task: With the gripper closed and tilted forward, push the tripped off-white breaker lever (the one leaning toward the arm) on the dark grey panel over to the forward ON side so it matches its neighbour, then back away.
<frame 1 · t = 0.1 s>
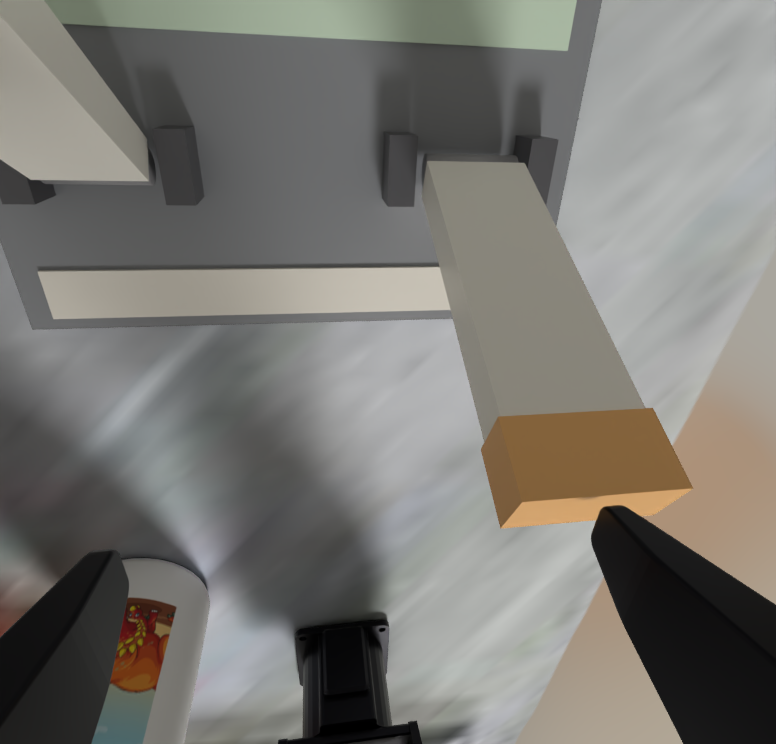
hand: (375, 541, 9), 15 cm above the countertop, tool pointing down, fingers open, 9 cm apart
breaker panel: (294, 161, 19), on the countertop
milk bottle: (147, 593, 30), on the countertop
tripped lever: (512, 289, 15), point 8 cm above the countertop, hinge at -24.0°
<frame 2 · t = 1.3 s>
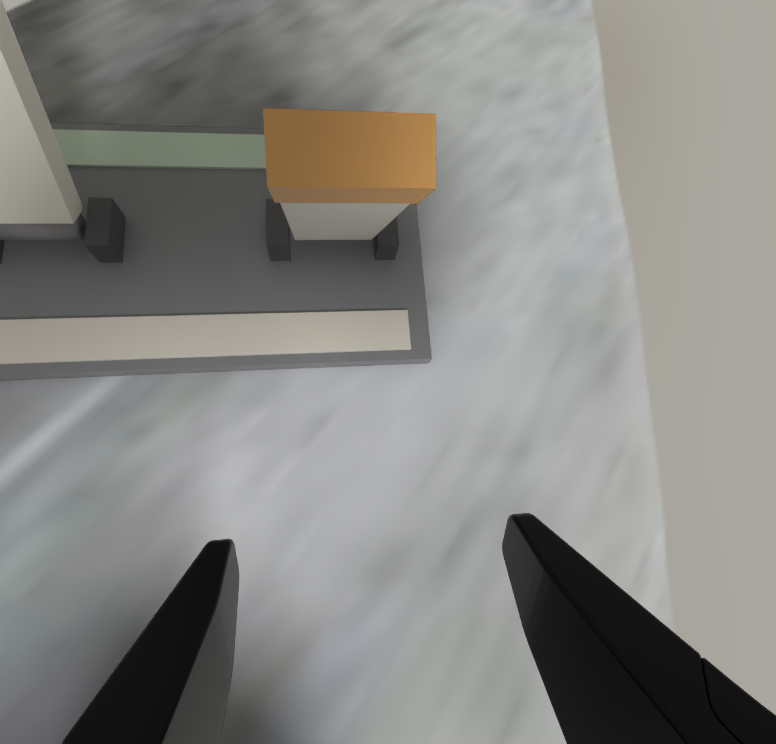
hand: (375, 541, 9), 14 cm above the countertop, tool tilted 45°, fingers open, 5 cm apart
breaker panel: (202, 247, 25), on the countertop
tripped lever: (338, 203, 17), point 8 cm above the countertop, hinge at -24.0°
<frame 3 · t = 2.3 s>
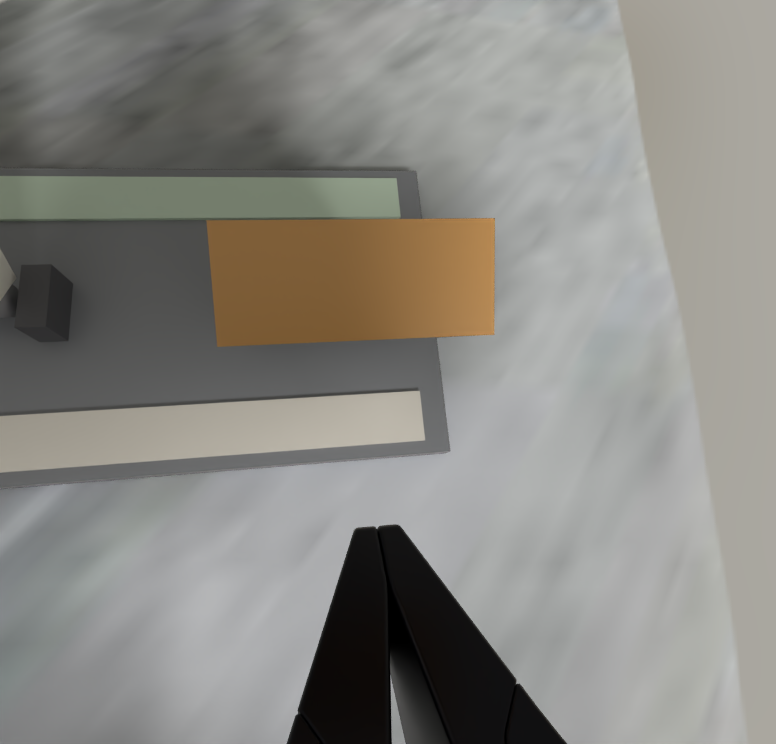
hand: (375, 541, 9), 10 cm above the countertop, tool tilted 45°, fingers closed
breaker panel: (169, 316, 20), on the countertop
tripped lever: (334, 288, 13), point 8 cm above the countertop, hinge at -24.0°
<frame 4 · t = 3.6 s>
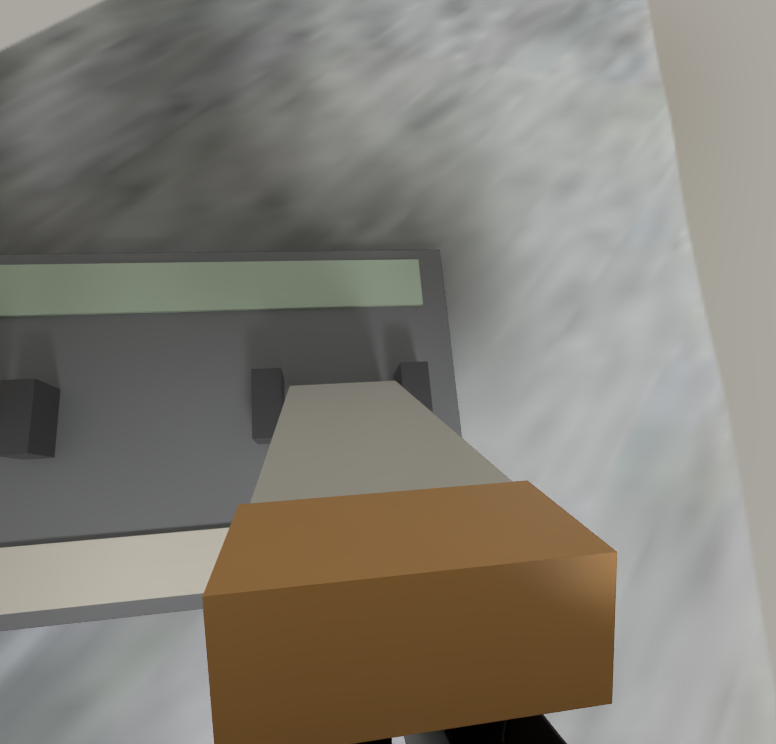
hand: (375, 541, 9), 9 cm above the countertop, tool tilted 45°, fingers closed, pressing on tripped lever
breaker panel: (167, 420, 18), on the countertop
tripped lever: (358, 449, 11), point 8 cm above the countertop, hinge at -21.6°, touching gripper
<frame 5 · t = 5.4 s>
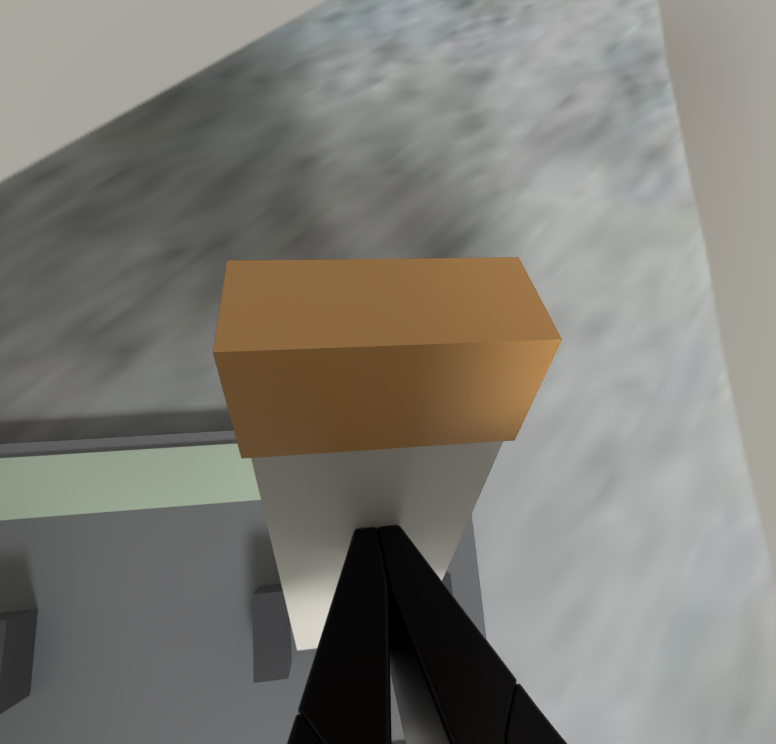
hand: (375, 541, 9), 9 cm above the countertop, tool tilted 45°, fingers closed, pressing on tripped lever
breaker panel: (158, 631, 16), on the countertop
tripped lever: (363, 539, 11), point 8 cm above the countertop, hinge at 27.3°, touching gripper
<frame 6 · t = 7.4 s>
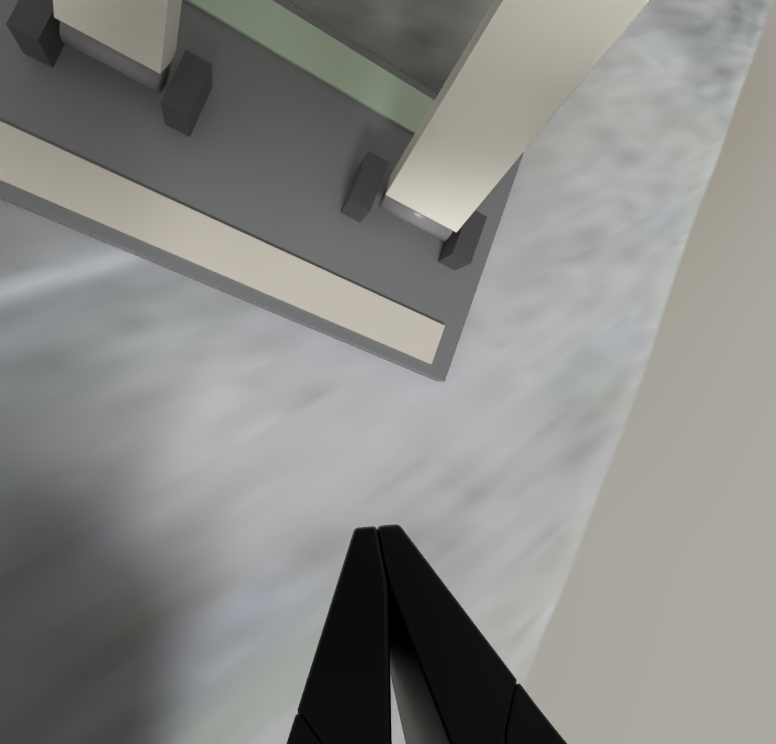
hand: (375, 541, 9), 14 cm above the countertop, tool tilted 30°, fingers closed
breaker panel: (276, 160, 22), on the countertop
tripped lever: (504, 89, 17), point 8 cm above the countertop, hinge at 27.4°
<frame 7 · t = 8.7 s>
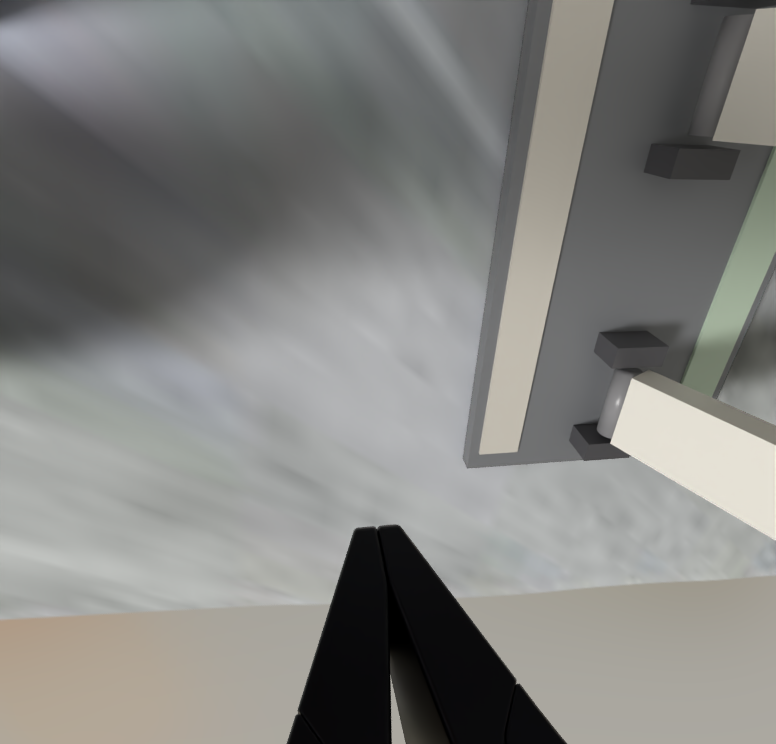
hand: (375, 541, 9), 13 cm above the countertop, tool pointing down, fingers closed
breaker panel: (634, 253, 21), on the countertop
tripped lever: (767, 478, 19), point 8 cm above the countertop, hinge at 27.4°
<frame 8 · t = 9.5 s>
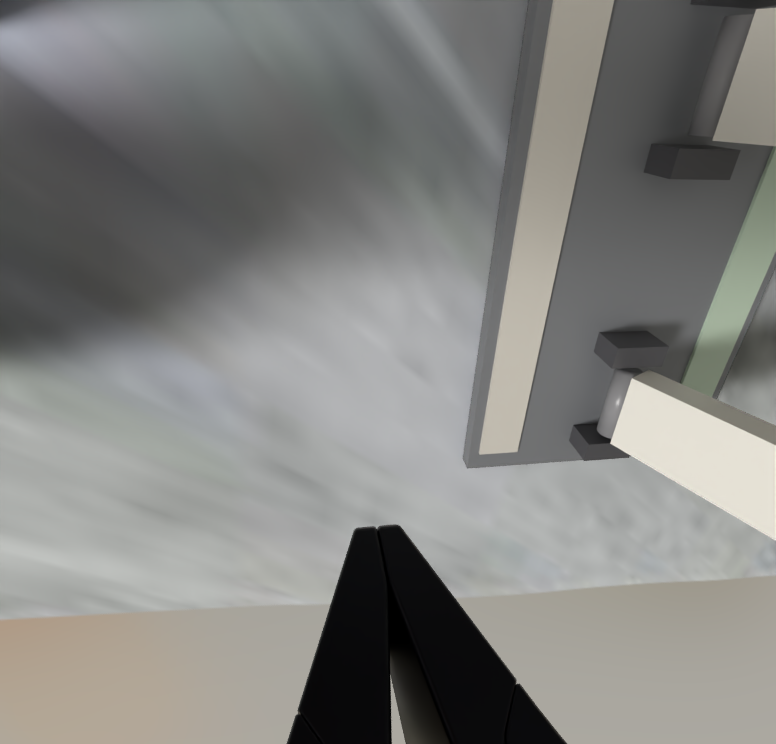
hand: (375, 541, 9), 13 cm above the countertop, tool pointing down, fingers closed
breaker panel: (634, 253, 21), on the countertop
tripped lever: (767, 478, 19), point 8 cm above the countertop, hinge at 27.4°
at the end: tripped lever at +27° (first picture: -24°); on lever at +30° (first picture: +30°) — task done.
